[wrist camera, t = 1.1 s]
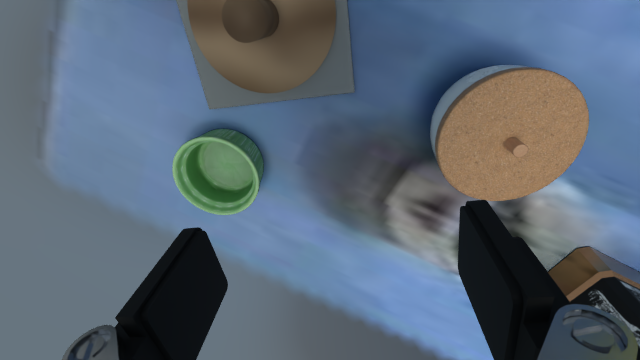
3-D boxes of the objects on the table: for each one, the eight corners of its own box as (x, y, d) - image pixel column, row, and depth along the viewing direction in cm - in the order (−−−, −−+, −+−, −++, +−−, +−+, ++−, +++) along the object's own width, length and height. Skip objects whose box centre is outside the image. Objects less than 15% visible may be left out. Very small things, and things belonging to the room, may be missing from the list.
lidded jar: (402, 89, 30) (422, 118, 22) (520, 31, 27) (596, 40, 19) (438, 177, 34) (466, 230, 26) (545, 136, 31) (615, 181, 23)
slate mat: (156, -71, 26) (154, -72, 25) (337, -109, 24) (337, -111, 23) (210, 108, 33) (209, 109, 32) (354, 91, 30) (354, 92, 30)
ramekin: (268, 126, 33) (257, 142, 29) (269, 198, 37) (260, 219, 34) (186, 119, 33) (164, 133, 30) (196, 190, 38) (179, 211, 34)
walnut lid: (169, -59, 26) (125, -76, 20) (325, -91, 24) (319, -119, 19) (215, 98, 32) (190, 115, 27) (343, 82, 30) (341, 97, 25)
